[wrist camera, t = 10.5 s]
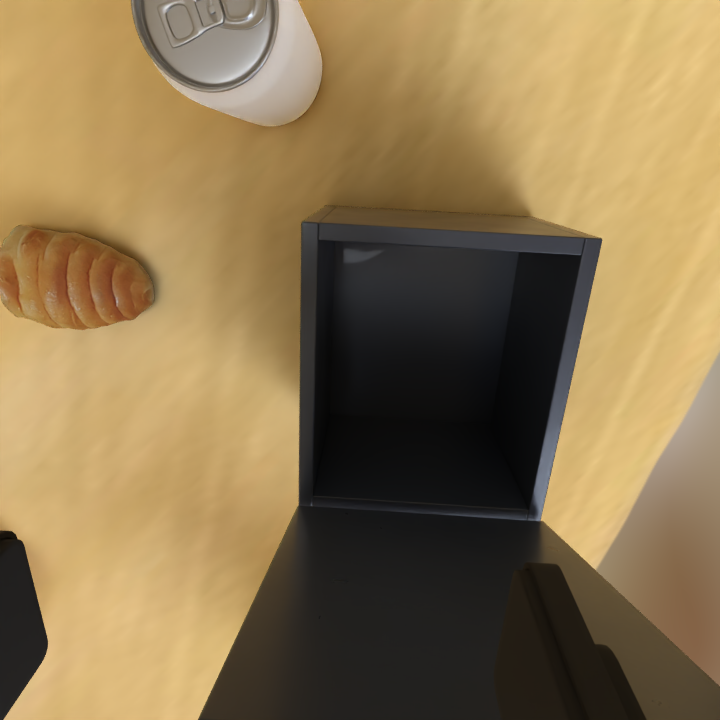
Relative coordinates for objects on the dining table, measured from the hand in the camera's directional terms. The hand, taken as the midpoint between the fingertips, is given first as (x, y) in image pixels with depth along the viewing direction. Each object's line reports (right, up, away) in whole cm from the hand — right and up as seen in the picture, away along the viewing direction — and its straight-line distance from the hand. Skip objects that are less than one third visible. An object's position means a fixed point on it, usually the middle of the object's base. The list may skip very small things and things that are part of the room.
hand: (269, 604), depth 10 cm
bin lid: (+5, -4, +10) cm, 12 cm away
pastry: (-18, +11, +26) cm, 33 cm away
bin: (+6, +7, +26) cm, 27 cm away
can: (-4, +22, +21) cm, 31 cm away
